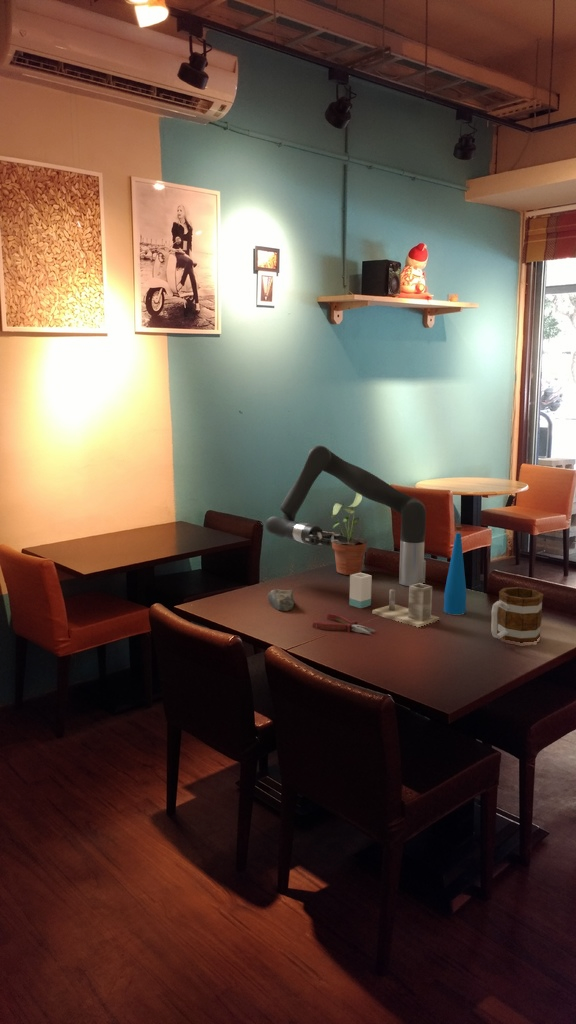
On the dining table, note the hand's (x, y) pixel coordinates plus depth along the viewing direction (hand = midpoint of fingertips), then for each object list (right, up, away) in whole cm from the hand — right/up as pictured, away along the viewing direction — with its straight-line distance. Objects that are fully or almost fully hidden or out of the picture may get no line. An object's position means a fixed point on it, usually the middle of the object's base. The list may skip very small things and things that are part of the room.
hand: (338, 541), depth 283 cm
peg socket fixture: (+22, -25, -17) cm, 37 cm away
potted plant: (+6, -15, +40) cm, 43 cm away
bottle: (+40, -24, -11) cm, 48 cm away
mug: (+52, -30, -39) cm, 71 cm away
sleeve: (+7, -23, -4) cm, 24 cm away
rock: (-20, -23, -5) cm, 31 cm away
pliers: (-1, -28, -29) cm, 41 cm away
